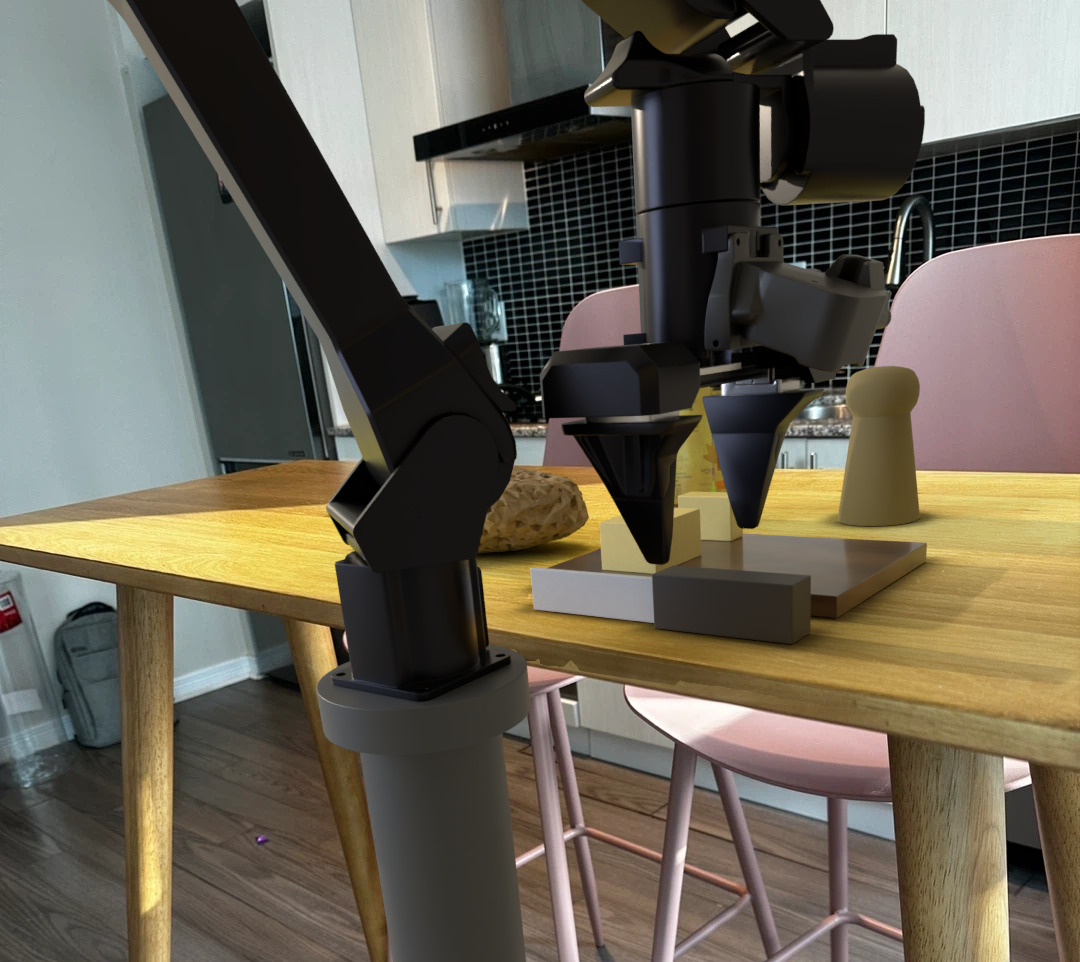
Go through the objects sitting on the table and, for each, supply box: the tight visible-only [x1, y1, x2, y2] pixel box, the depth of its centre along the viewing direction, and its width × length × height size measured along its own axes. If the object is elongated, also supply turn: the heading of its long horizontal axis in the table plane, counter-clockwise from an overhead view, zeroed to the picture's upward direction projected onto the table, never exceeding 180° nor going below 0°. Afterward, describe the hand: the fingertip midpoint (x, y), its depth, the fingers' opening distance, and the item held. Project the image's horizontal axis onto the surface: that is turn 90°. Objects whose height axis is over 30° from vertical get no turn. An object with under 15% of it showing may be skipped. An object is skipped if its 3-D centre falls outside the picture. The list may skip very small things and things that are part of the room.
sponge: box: [477, 466, 590, 554], centre depth 80 cm, size 13×8×20 cm
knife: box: [529, 565, 812, 645], centre depth 56 cm, size 2×17×3 cm, turn 52°
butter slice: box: [678, 492, 744, 541], centre depth 70 cm, size 2×4×3 cm, turn 54°
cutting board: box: [547, 533, 928, 619], centre depth 65 cm, size 14×20×1 cm
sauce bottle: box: [674, 387, 727, 508], centre depth 80 cm, size 6×6×20 cm
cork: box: [837, 365, 921, 527], centre depth 77 cm, size 6×6×11 cm
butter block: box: [598, 508, 701, 574], centre depth 65 cm, size 6×4×3 cm
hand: (705, 544), depth 53 cm, fingers open, 9 cm apart
